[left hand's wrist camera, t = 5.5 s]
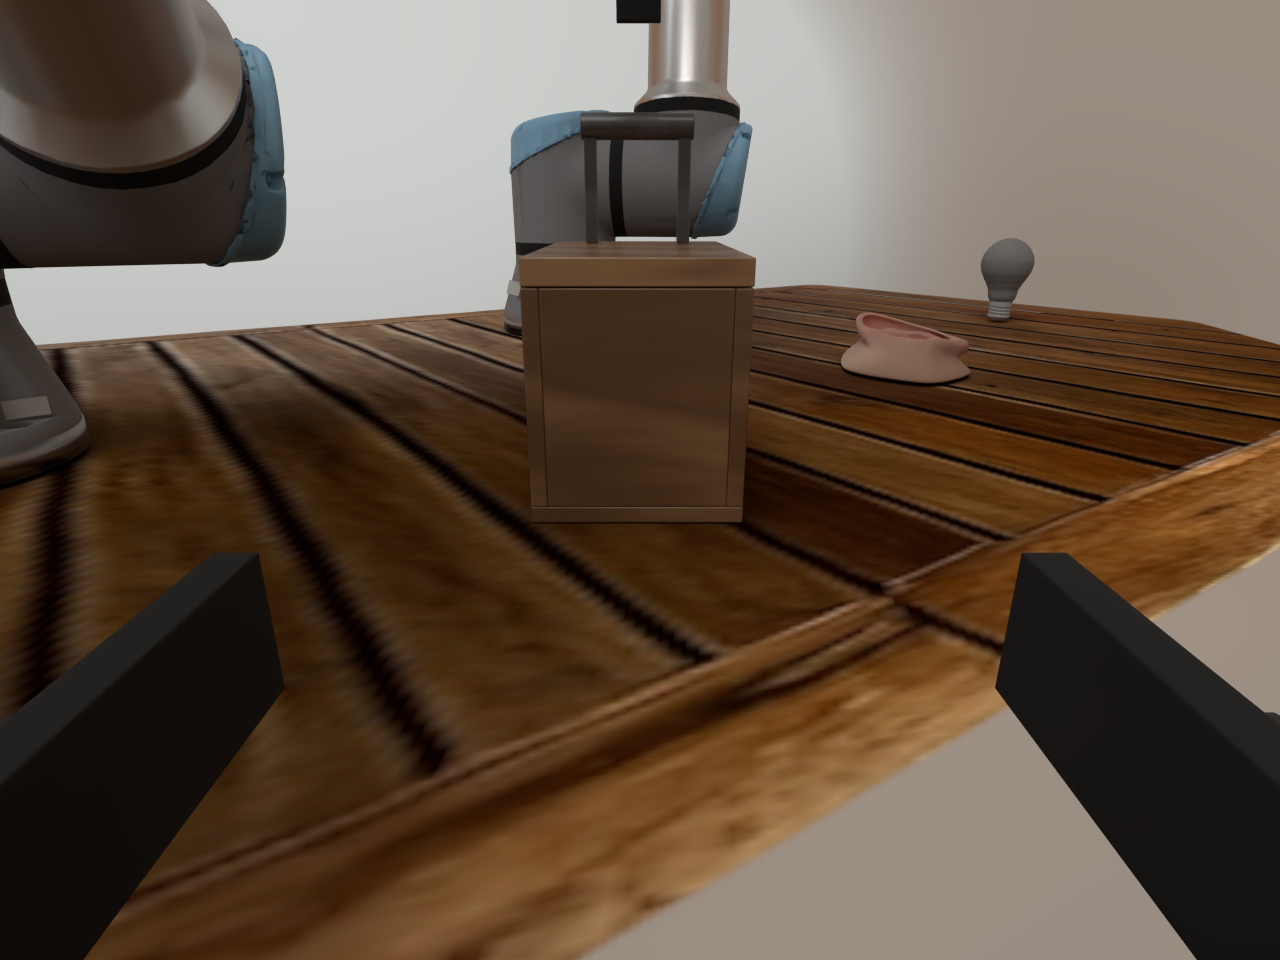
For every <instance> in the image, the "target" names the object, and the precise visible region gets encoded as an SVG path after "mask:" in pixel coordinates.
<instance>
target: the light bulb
mask: <svg viewBox="0 0 1280 960" xmlns="http://www.w3.org/2000/svg"><path fill="white" fill-rule="evenodd" d="M1033 266H1034V255H1033V252H1032V250H1031V249H1030V247H1029V246H1028V245H1027V244H1026V243H1025V242H1023V241H1021V240H1018V239H1014V238H1009V239H1004V240H1000V241H998V242H996V243H995V244H993V245H992V246H991V247H990V248H989V249H988V250H987V251H986V253H985V254H984V256H983V258H982V262H981V271H982V274H983V277H984V279H985V281H986V284H987V287H988V298H989V305H990V306H989V308H990V309H989V310H988V311H989V313H988V314H987V316H988V317H990V318H992V319H993V320H1004V319H1006V318H1008V317H1010V315H1009V314H1010V313H1009V310H1010V307H1011V306H1012V302H1013V300H1014V299H1015V297H1016V295H1017V291H1018V289H1019V288H1020V287H1021V285H1022V284H1023V282H1024V281H1025V280H1026V279H1027V277H1028V276H1029V275H1030V273H1031V271H1032V269H1033Z"/></svg>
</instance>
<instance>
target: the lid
mask: <svg viewBox="0 0 1280 960" xmlns="http://www.w3.org/2000/svg"><path fill="white" fill-rule="evenodd" d="M694 129H695V115H694V113H670V112H582V113H581V114H580V132H581V139H582V140H584V174H585V217H586V241H559V242H557V243H554V244H552V245H549V246H547V247H544V248H542V249H539V250H537V251H534V252H532V253H529V254H527V255H524V256H522V257H519V258H518V269H519V285H520V287H754V285H755V268H756V258H754V257H752V256H749V255H747V254H745V253H742V252H740V251H737V250H735V249H733V248H730V247H728V246H725V245H723V244H721V243H718V242H689V215H690V170H691V140H693V139H694ZM597 140H678V177H677V237H676V242H661V241H658V242H656V241H655V242H654V241H653V242H652V241H651V242H650V241H648V242H646V241H644V242H643V241H642V242H641V241H640V242H639V241H634V242H631V241H630V242H629V241H624V242H622V241H617V242H616V241H599V235H598V180H597Z"/></svg>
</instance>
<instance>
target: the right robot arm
mask: <svg viewBox="0 0 1280 960" xmlns="http://www.w3.org/2000/svg"><path fill="white" fill-rule="evenodd" d="M616 6H617V23H649V56H648V90H647V92H646V93H645V94H644V95H643V96H642V97H641V99H640V100H639V101H638V102H637V103H636V104H635V106H634V112H670V113H694V115H695V129H694V139H693V140H691V170H690V215H689V237H691V238H692V239H696V238H697V237H708V236H723V235H726V234H728V233H730V232H731V231H732V230H733V229H734V227H735V225H736V223H737V218H738V213H739V207H740V201H741V195H742V189H743V183H744V177H745V171H746V165H747V159H748V153H749V147H750V140H751V134H752V127H751V126H750V125H748V124H746V123H745V122H744V123H740V124H739V119H740V105H739V104H738V102H737V101H736V100H735V99H734V98H733V97H732V96H731V95H730V94H729V93H728V91H727V66H728V38H729V11H730V0H616ZM582 112H609V111H603V110H591V111H574V112H566V113H559V114H553V115H548V116H543V117H539V118H535V119H532V120H529V121H526V122H524V123H522V124H520V125H519V126H518V127H517V128H516V129H515V130H514V132H513V134H512V137H511V167H510V174H511V178H512V195H513V211H514V227H515V242H516V267H515V271H514V275H513V279H512V281H511V280H510V281H509V285H508V290H507V294H509V295H508V299H507V303H506V307H505V312H504V325H505V329H506V330H507V331H509V332H512V333H517V334H522V322H521V304H520V288H522V287H520V285H519V269H518V258H519V257H522V256H524V255H527V254H529V253H532V252H534V251H537V250H539V249H542V248H544V247H547V246H549V245H552V244H554V243H557V242H559V241H586V217H585V174H584V140H582V139H581V132H580V114H581V113H582ZM677 177H678V140H597V180H598V235H599V241H615V237H677Z"/></svg>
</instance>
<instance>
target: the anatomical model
mask: <svg viewBox="0 0 1280 960" xmlns="http://www.w3.org/2000/svg"><path fill="white" fill-rule="evenodd" d="M856 329H857V332H858V334H859V335H860V340H859V341H858V342H857V343H856V344H854V345H853V346H852V347H850V348H849V349H848V350H847V351H846V352H845V353H844V355H843V356H842V358H841V365H842V366H843V368H844V369H846V370H848V371H850V372H854V373H857V374H861V375H866V376H871V377H877V378H883V379H890V380H897V381H905V382H914V383H942V382H948V381H952V380H956V379H959V378H962V377H965V376H967V375H969V374H970V373H971V372H970V370H969V369H968V368H967V367H966V366H965V365H964V364H963V363H962V362H961V361H960V360H959V356H960V355H962V354H963V353H965V352H966V351H967V350H968V348H969V343H968V342H967V341H966V340H963V339H960V338H957V337H954V336H950V335H947V334H945V333H942V332H939V331H936V330H933V329H930V328H927V327H923V326H919V325H916V324H912V323H909V322H906V321H902V320H899V319H895V318H892V317H888V316H884V315H880V314H875V313H862V314H860V315H859V316H858V317H857V319H856Z"/></svg>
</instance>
